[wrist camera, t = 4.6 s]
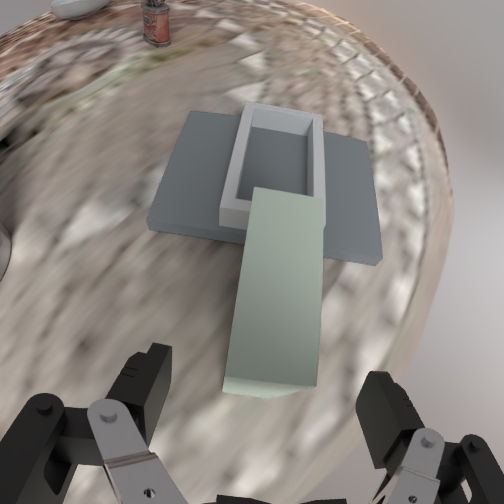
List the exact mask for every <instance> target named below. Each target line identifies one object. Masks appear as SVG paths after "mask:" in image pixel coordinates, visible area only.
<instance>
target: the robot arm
mask: <svg viewBox="0 0 504 504" xmlns="http://www.w3.org/2000/svg"><path fill="white" fill-rule="evenodd" d="M10 251H11V241H10V236H9V233H8V231H7V229H6V228H5V226H4V225H3V224H2V223H1V222H0V280H1V278H2V276H3V274H4V272H5V270H6V267H7V264H8V261H9V256H10ZM171 371H172V346H168V345H163V344H159V343H154V342H153V343H152V345H151V347H150V349H149V350H148V352H147V354H146V353H142V352H137V353H136V354H134V355H133V356H131V357H130V358H129V359H128V360H127V362H126V364H125V365H124V368H123V369H122V370H121V372H120V375H118V377H117V379H116V380H115V382H114V384H113V386H112V387H111V389H110V391H109V392H108V394H107V396H106V398H105V399H101V400H98V401H96V402H94V403H92V404H91V405H90V406H89V408H72V407H64V404H63V402H62V401H61V399H60V398H59V397H57V396H55V395H53V394H49V393H40V394H37V395H34V396H33V397H31V398H30V399H29V400H28V401H27V403H26V404H25V406H24V407H23V409H22V410H21V411H20V413H19V414H18V416H17V417H16V419H15V420H14V422H13V423H12V425H11V426H10V428H9V429H8V431H7V432H6V434H5V435H4V437H3V438H2V440H1V442H0V504H62V503H63V501H64V498H65V496H66V493H67V490H68V488H69V485H70V483H71V480H72V478H73V475H74V473H75V471H76V468H77V466H78V464H82V465H95V466H102V467H103V470H104V472H105V474H106V477H107V479H108V481H109V484H110V486H111V488H112V490H113V492H114V495H115V497H116V499H117V501H118V503H119V504H188V503H187V501H186V500H185V498H184V497H183V495H182V494H181V492H180V491H179V489H178V488H177V486H176V485H175V483H174V482H173V480H172V479H171V477H170V475H169V474H168V472H167V471H166V469H165V467H164V466H163V464H162V462H161V461H160V459H159V457H158V456H157V455H156V454H155V453H154V452H152V453H151V452H150V451H149V449H148V448H149V445H150V442H151V439H152V436H153V433H154V431H155V428H156V425H157V422H158V419H159V416H160V414H161V411H162V408H163V405H164V402H165V400H166V397H167V394H168V391H169V388H170V383H171ZM356 413H357V416H358V419H359V422H360V425H361V428H362V431H363V434H364V437H365V440H366V443H367V446H368V449H369V452H370V455H371V458H372V461H373V464H374V467H375V469H380V468H386V470H387V472H386V474H385V475H384V476H383V478H382V480H381V482H380V484H379V486H378V487H377V489H376V491H375V493H374V495H373V497H372V498H371V500H370V502H369V504H504V474H503V472H502V470H501V469H500V466H499V465H498V463H497V461H496V459H495V457H494V455H493V454H492V452H491V450H490V448H489V447H488V445H487V443H486V442H485V441H484V440H483V439H482V438H481V437H479V436H477V435H473V434H469V435H466V436H464V437H463V439H462V440H461V442H460V443H451V442H444V439H443V437H442V436H441V435H440V434H439V433H438V432H436V431H435V430H433V429H429V428H425V426H424V424H423V422H422V421H421V419H420V417H419V415H418V413H417V412H416V409H415V408H414V407H413V404H412V402H411V400H409V397H408V395H407V393H406V391H405V390H404V389H403V388H402V387H401V386H399V385H398V384H397V383H394V381H393V380H392V378H391V376H390V374H389V373H388V372H385V371H370V372H369V373H368V375H367V377H366V380H365V382H364V384H363V386H362V389H361V391H360V393H359V395H358V398H357V401H356ZM465 479H466V480H467V482H468V485H469V487H470V489H471V492H472V498H471V500H470V502H469V503H468V500H467V498H466V495H465V494H464V491H463V488H462V486H461V484H462V482H463V481H464V480H465ZM204 504H270V503H266V502H263V501H259V500H255V499H252V498H243V497H233V496H225V495H217V498H216V502H212V503H204ZM301 504H347V502H346V499H331V500H314V501H310V502H306V503H301Z"/></svg>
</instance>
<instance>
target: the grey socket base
mask: <svg viewBox="0 0 504 504" xmlns="http://www.w3.org/2000/svg"><path fill="white" fill-rule="evenodd" d="M254 187H259V188H265V189H271V190H277V191H283V192H289V193H294V194H300V195H305V196H311V197H316V198H321V199H323V257H324V258H331V259H337V260H343V261H349V262H355V263H361V264H367V265H373V266H376V265H377V264H378V263H379V262H380V261H381V260H382V258H383V255H382V244H381V234H380V225H379V216H378V208H377V201H376V194H375V187H374V180H373V174H372V168H371V162H370V157H369V151H368V146H367V142H365V141H362V140H358V139H354V138H350V137H346V136H342V135H337V134H333V133H329V132H324V131H323V122H322V115H319V114H314V113H310V112H305V111H300V110H295V109H289V108H284V107H278V106H272V105H266V104H260V103H253V102H245V106H244V110H243V114H242V117H240V116H233V115H225V114H217V113H208V112H198V111H191V112H190V114H189V116H188V118H187V120H186V123H185V125H184V127H183V129H182V132H181V134H180V136H179V139H178V141H177V143H176V146H175V148H174V150H173V153H172V155H171V157H170V160H169V162H168V165H167V167H166V170H165V172H164V175H163V177H162V180H161V182H160V185H159V188H158V190H157V193H156V196H155V198H154V201H153V204H152V206H151V209H150V212H149V215H148V217H147V223H148V226H149V229H150V230H154V231H160V232H167V233H173V234H180V235H186V236H193V237H199V238H205V239H212V240H218V241H224V242H231V243H237V244H243V245H245V240H246V234H247V228H248V222H249V216H250V209H251V203H252V197H253V191H254Z"/></svg>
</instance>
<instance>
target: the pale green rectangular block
mask: <svg viewBox="0 0 504 504" xmlns="http://www.w3.org/2000/svg"><path fill="white" fill-rule="evenodd" d="M322 281H323V199H321V198H316V197H311V196H305V195H300V194H294V193H289V192H283V191H277V190H271V189H265V188H259V187H254V191H253V197H252V203H251V209H250V216H249V222H248V228H247V234H246V240H245V246H244V252H243V259H242V265H241V271H240V277H239V284H238V290H237V297H236V303H235V310H234V316H233V323H232V329H231V336H230V342H229V349H228V355H227V362H226V369H225V375H224V382H223V389H222V392H226V393H233V394H240V395H247V396H255V397H264V398H274V397H279V396H283V395H287V394H291V393H294V392H298V391H302V390H306V389H309V388H313V387H316V385H317V373H318V360H319V345H320V328H321V308H322Z"/></svg>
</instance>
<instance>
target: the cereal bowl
mask: <svg viewBox="0 0 504 504" xmlns="http://www.w3.org/2000/svg"><path fill="white" fill-rule="evenodd" d="M109 2H110V0H55V1H53V2H52V4H51V8H52V12H53V13H54V15H55V16H56V17H58V18H61V19H70V20H78V19H82V18H85V17H88V16H91V15H93V14H95V13H97V12H98V10H99V9H101V8H103V7H104V6H105V5H107V4H108V3H109Z"/></svg>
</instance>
